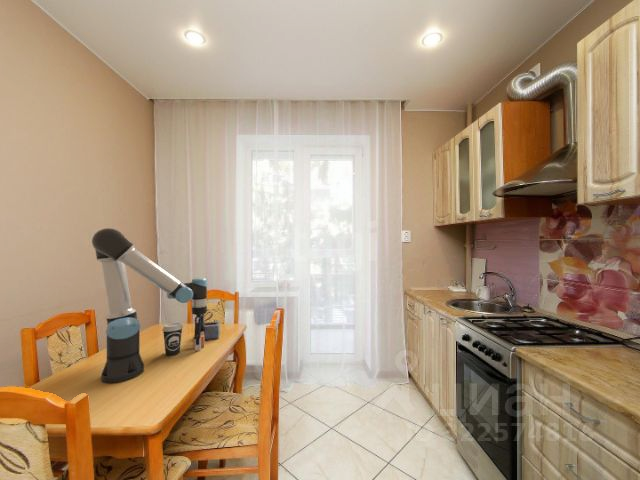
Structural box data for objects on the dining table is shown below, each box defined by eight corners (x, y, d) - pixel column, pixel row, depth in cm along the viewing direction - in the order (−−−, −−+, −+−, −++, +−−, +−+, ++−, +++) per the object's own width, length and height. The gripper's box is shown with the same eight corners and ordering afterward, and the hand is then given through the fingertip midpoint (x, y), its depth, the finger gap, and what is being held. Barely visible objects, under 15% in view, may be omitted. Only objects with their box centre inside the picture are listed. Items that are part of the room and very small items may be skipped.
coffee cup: (186, 350, 143) (186, 322, 143) (175, 357, 133) (175, 327, 133) (170, 349, 144) (170, 321, 144) (157, 357, 134) (157, 327, 134)
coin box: (218, 338, 160) (218, 325, 160) (200, 340, 157) (200, 327, 157) (219, 333, 169) (219, 320, 169) (203, 335, 166) (203, 322, 167)
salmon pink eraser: (203, 347, 146) (203, 336, 146) (193, 348, 145) (193, 337, 145) (204, 345, 148) (204, 335, 149) (194, 347, 147) (194, 336, 147)
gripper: (203, 310, 137) (203, 353, 137) (209, 301, 159) (209, 339, 158) (187, 311, 135) (187, 355, 135) (195, 302, 157) (195, 340, 156)
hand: (199, 346), depth 147 cm, fingers open, 9 cm apart
